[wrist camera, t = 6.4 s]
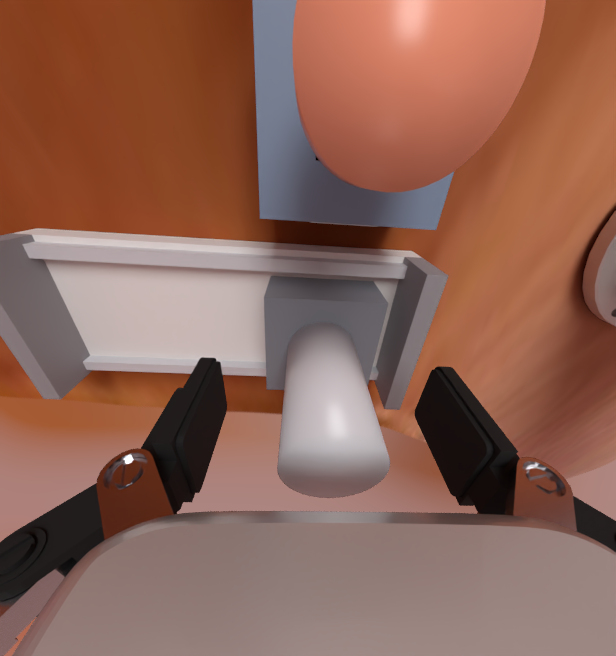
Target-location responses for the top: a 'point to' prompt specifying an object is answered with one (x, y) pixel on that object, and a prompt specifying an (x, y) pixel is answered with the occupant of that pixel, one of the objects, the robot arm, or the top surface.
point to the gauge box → (298, 157)
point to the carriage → (325, 382)
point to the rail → (186, 303)
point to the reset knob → (407, 82)
